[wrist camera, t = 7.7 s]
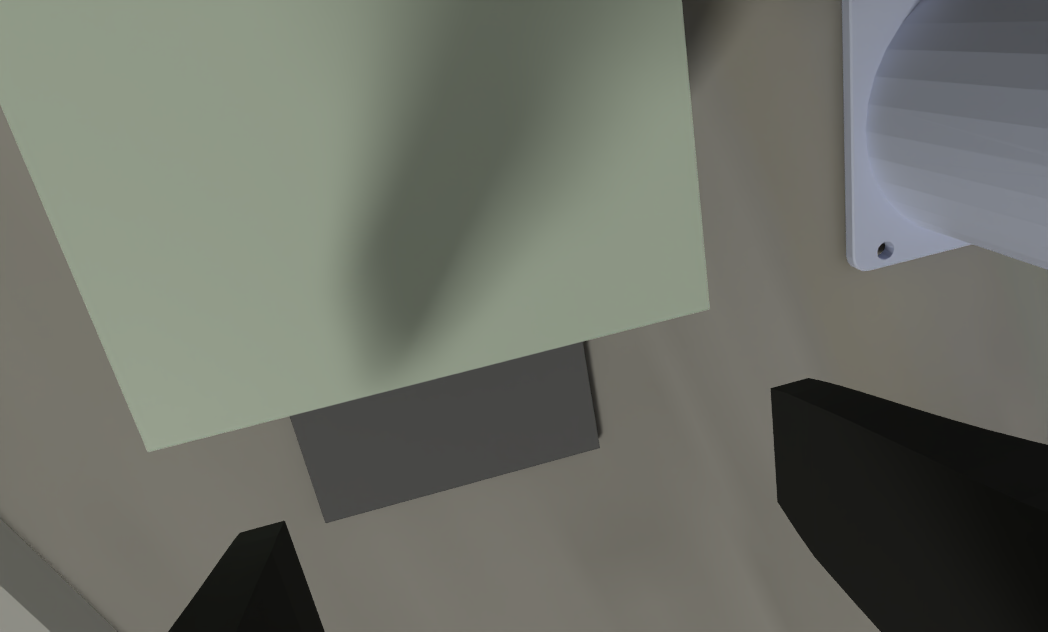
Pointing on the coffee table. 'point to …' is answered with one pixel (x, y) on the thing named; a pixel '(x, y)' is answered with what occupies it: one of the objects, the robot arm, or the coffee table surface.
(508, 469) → the dark grey flat block
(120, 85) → the tunnel
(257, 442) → the coffee table surface
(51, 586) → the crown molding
